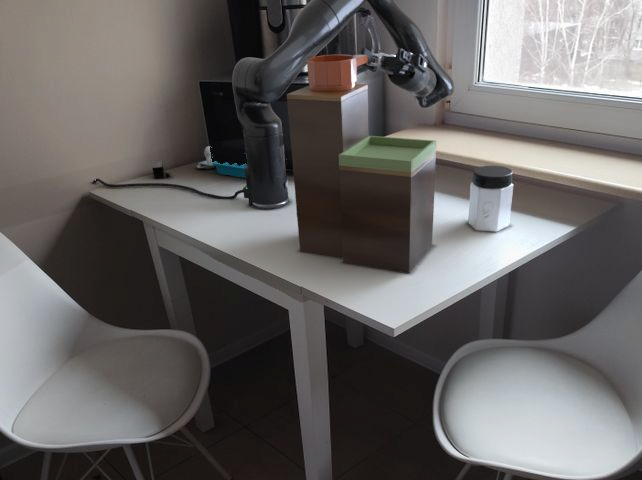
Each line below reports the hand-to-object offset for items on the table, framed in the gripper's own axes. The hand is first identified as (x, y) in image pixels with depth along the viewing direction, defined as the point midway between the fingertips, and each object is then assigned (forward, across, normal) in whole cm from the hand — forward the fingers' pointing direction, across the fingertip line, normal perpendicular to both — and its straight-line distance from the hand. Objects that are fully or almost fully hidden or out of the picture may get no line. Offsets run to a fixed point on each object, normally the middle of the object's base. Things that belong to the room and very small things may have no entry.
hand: (380, 53), depth 132 cm
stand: (+10, +8, +41) cm, 43 cm away
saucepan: (+15, +1, +9) cm, 18 cm away
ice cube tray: (-23, -48, +26) cm, 59 cm away
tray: (+17, +13, +23) cm, 32 cm away
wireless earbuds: (-11, -70, +31) cm, 77 cm away
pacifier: (-22, -63, +26) cm, 72 cm away
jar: (-12, +26, +32) cm, 44 cm away
